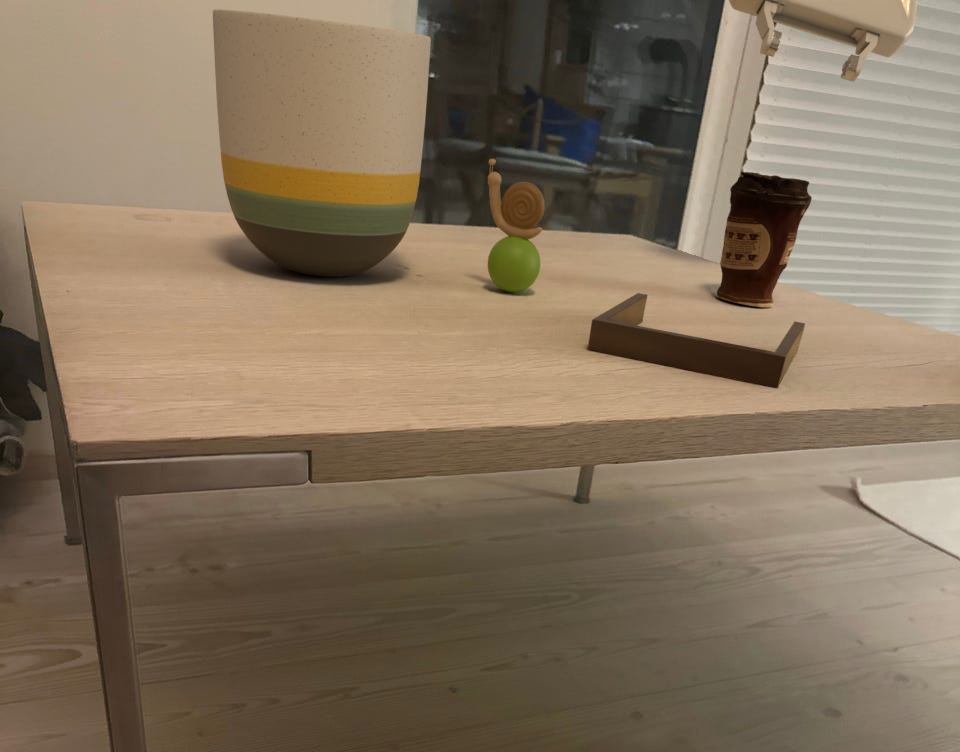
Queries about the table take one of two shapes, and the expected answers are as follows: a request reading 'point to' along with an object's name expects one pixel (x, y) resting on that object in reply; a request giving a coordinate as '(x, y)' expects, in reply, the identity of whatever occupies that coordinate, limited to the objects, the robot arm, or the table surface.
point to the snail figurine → (515, 233)
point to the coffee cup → (760, 236)
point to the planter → (320, 136)
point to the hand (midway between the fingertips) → (809, 64)
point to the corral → (689, 347)
